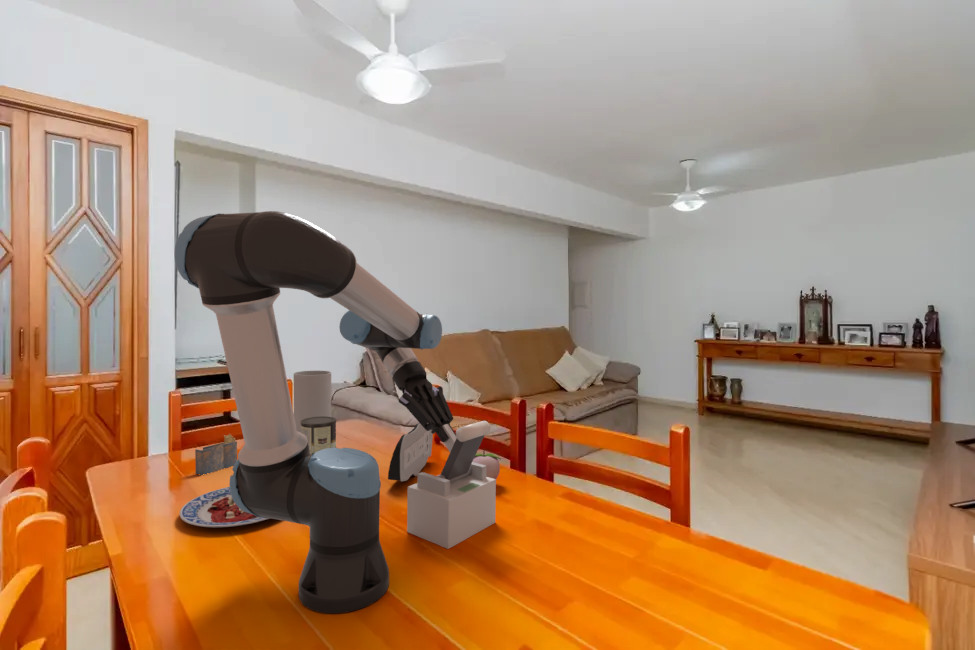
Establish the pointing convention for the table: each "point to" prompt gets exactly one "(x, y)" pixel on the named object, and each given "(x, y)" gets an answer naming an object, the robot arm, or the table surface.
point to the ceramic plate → (216, 511)
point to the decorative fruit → (489, 463)
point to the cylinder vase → (311, 395)
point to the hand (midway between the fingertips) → (457, 451)
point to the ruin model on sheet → (216, 456)
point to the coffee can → (319, 432)
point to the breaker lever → (464, 451)
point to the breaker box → (451, 506)
